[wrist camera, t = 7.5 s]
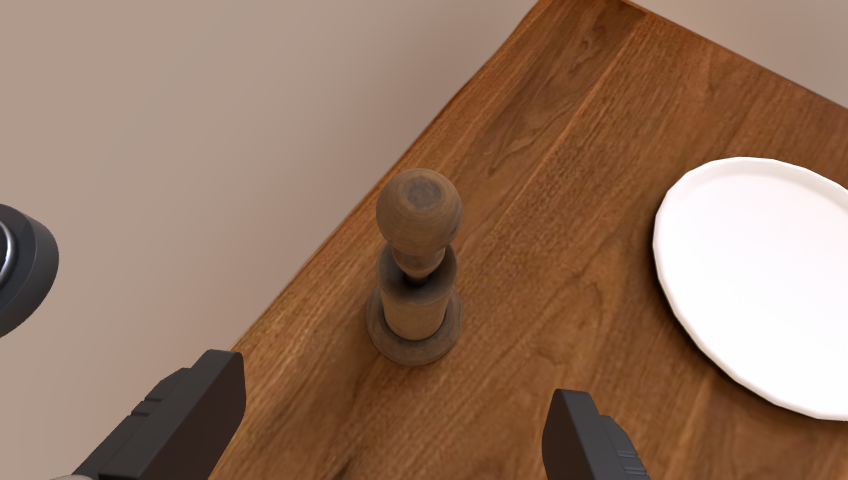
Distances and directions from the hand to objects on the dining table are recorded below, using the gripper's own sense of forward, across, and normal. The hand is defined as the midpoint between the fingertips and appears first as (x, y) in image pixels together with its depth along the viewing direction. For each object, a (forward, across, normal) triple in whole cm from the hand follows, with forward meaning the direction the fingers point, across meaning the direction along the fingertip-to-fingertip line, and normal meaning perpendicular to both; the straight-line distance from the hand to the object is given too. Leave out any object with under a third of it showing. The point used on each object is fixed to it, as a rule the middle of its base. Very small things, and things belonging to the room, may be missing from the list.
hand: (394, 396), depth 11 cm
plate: (+22, -28, +4) cm, 36 cm away
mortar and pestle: (+17, 0, +9) cm, 19 cm away
